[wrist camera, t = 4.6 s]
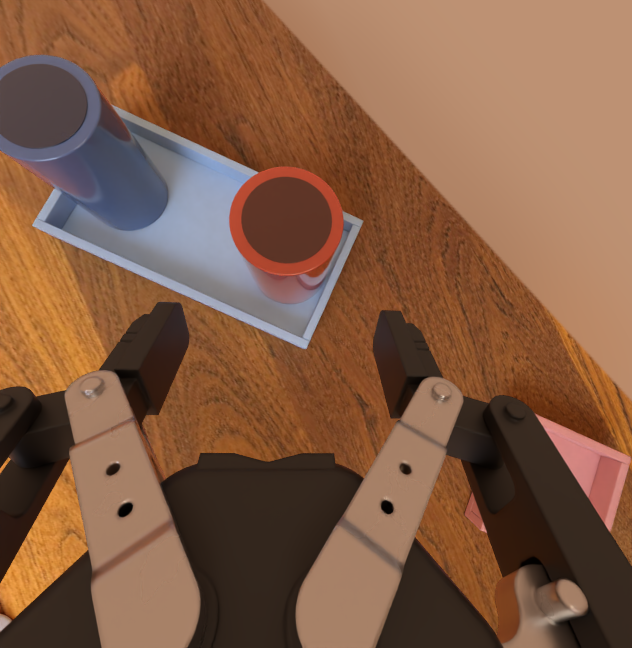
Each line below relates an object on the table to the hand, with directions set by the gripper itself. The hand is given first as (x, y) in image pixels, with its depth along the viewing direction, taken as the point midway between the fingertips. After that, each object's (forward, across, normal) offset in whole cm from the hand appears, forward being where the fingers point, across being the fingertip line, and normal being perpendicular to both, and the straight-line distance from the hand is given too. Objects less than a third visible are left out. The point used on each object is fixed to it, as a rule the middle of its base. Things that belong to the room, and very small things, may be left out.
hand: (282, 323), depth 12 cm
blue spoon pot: (+14, +12, 0) cm, 19 cm away
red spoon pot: (+11, 0, +3) cm, 11 cm away
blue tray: (+13, +6, +2) cm, 14 cm away
